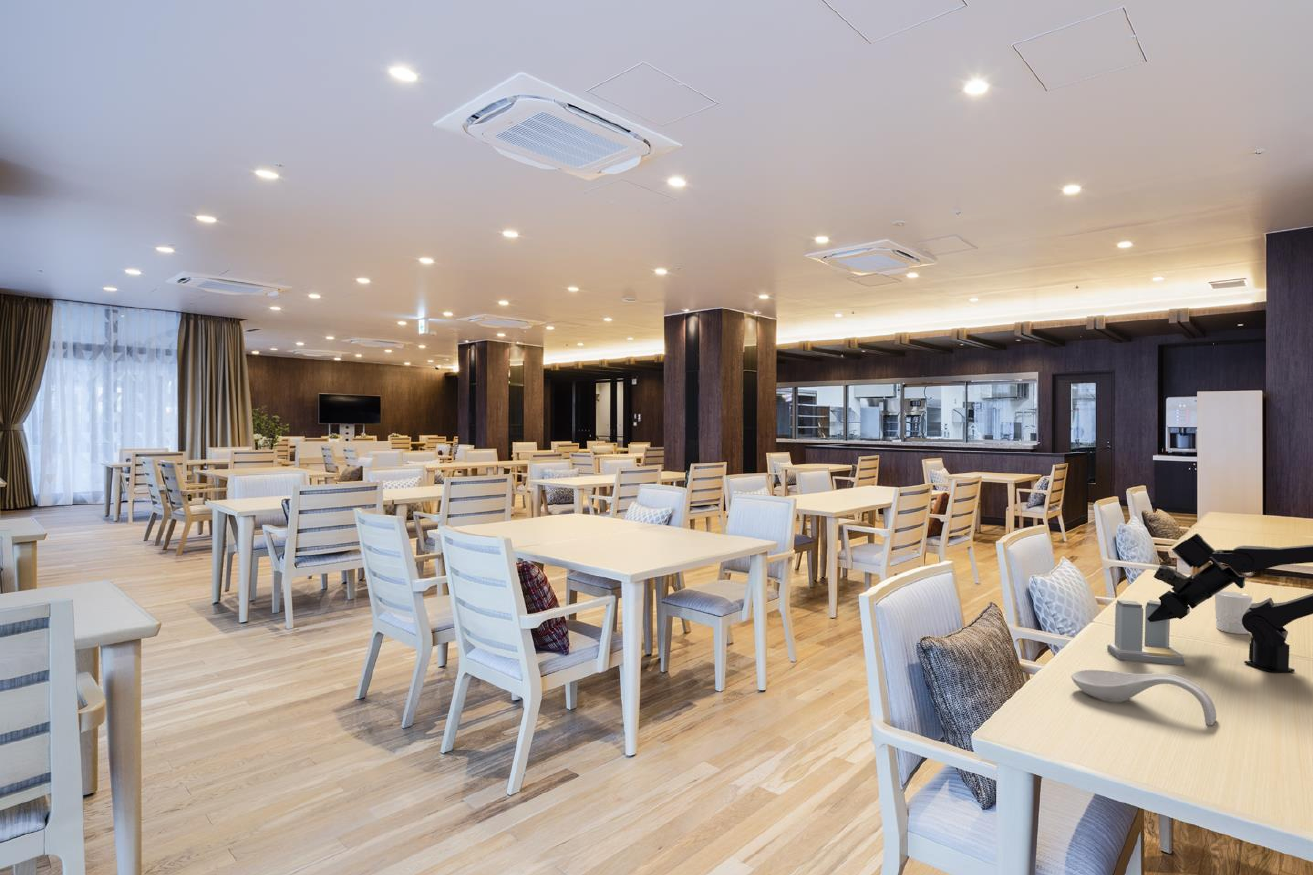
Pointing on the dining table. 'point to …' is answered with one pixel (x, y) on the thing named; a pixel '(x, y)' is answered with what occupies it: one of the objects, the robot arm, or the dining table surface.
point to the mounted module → (1129, 625)
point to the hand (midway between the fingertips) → (1150, 618)
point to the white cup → (1231, 611)
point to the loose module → (1156, 628)
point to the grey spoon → (1136, 687)
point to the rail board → (1147, 655)
